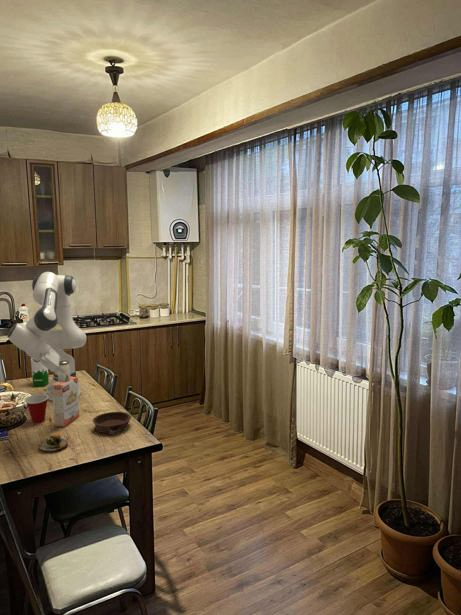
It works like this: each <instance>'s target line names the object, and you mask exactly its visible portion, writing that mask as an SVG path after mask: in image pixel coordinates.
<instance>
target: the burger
mask: <svg viewBox="0 0 461 615" xmlns="http://www.w3.org/2000/svg"><path fill="white" fill-rule="evenodd" d="M68 447H69V442H68V440H67V439H65V438H62V437H61V435H60V434H59V433H57V432H56V433H53V434H50V435H49V438H46V439H45V440H44V441H43V442H41V443H39V445H38V449H39V450H42V451H45V452H54V451H57V450H59V451H60V452H63V451H64V450H65V449H66V448H68Z"/></svg>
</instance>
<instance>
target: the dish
mask: <svg viewBox="0 0 461 615" xmlns="http://www.w3.org/2000/svg"><path fill="white" fill-rule="evenodd" d="M131 417H132V416H131V414H129V413H128V412H125V411H109V412H105V413H101V414H98V415H96V416H95V417H94V418H93V419H92V422H93V424H94V427H95V428H96V430H97V431H99V432H100V433H103V434H111V435H118V434H119V433H120V432H122V431H124V430H125V429H127V428H128V426H129V423H130V420H132V418H131Z"/></svg>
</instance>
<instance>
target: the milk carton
mask: <svg viewBox="0 0 461 615" xmlns="http://www.w3.org/2000/svg"><path fill="white" fill-rule="evenodd" d="M30 365H31V379H32V386H33V388H41V387H42V388H44V387H46V386H48V384H49V383H50V382H49V380H50V379H49V369H48V368H47V367H45V366H44V365H43V364H42V363H41V361H40V360H39V361H35V360H34V359H33V358H31V357H30Z"/></svg>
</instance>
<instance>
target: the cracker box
mask: <svg viewBox="0 0 461 615" xmlns="http://www.w3.org/2000/svg"><path fill="white" fill-rule="evenodd" d="M70 379H71V380H70V381H69V382H64V383H61V382H57V383H55V384H53V385H52V389H53V401H52V403H53V406H52V407H53V421H54V422H53V423H54V424H53V425H54V427H60V428H61V427H64V428H65V427H66V426H68V425H70V424H71V423H72V422H74V421H75V420H76V419H78V418H80V399H79V396H80V395H79V396H78V382H79V378H78V377H77V376H76V377H70Z"/></svg>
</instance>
